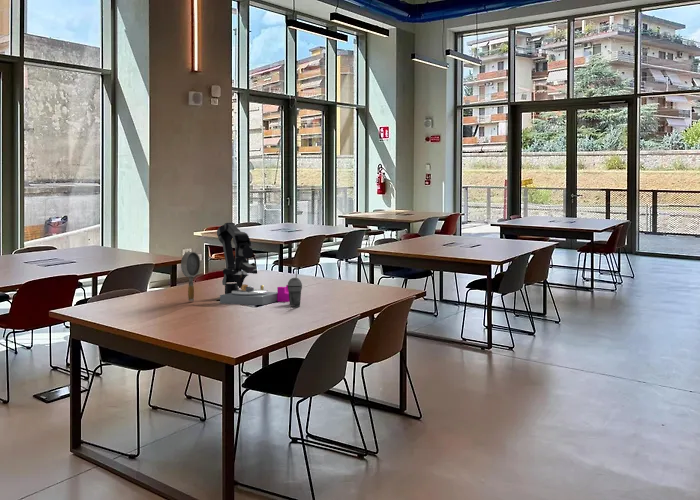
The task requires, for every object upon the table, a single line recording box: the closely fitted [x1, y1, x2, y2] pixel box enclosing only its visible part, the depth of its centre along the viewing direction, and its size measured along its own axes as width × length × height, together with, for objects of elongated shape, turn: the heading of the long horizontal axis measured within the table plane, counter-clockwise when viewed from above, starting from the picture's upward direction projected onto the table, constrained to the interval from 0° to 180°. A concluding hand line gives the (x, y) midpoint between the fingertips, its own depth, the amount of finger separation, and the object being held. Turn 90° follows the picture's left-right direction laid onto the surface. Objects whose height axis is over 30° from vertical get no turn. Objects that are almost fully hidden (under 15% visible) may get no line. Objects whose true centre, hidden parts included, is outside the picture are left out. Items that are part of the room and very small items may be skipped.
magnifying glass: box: [180, 251, 201, 302], centre depth 330 cm, size 13×3×25 cm, turn 160°
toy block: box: [276, 284, 290, 303], centre depth 334 cm, size 15×6×8 cm, turn 166°
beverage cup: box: [286, 268, 303, 309], centre depth 314 cm, size 7×7×20 cm
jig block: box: [219, 291, 278, 306], centre depth 326 cm, size 23×23×4 cm
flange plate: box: [232, 284, 269, 295], centre depth 325 cm, size 20×18×4 cm
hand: (240, 288), depth 331 cm, fingers closed
